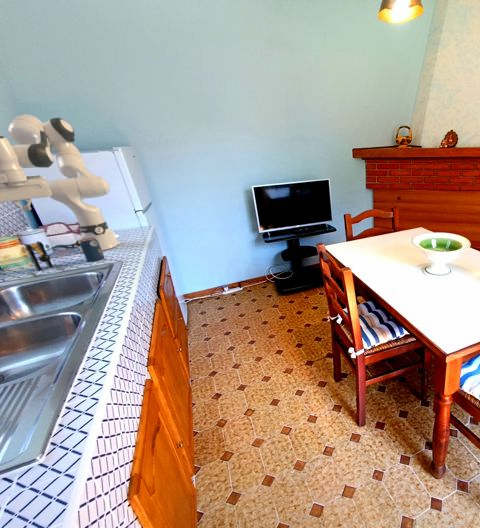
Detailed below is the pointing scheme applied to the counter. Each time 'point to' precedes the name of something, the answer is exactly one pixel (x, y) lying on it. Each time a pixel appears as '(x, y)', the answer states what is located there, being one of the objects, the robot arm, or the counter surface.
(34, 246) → the lever
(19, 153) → the robot arm
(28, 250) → the bracket
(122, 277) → the counter surface
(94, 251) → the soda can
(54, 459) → the counter surface
